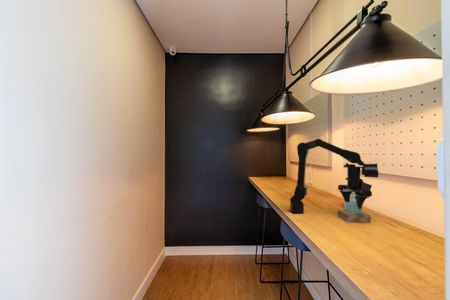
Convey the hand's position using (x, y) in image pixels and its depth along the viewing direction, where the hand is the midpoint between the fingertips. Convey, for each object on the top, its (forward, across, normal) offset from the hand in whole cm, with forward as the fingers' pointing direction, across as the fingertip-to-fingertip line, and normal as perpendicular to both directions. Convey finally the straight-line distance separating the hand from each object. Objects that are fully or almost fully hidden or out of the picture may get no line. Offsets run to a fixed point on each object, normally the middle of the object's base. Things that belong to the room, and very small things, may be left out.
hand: (353, 206), depth 114 cm
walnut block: (+7, 0, 0) cm, 7 cm away
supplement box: (+7, +21, -14) cm, 26 cm away
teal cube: (+3, 0, 0) cm, 3 cm away
